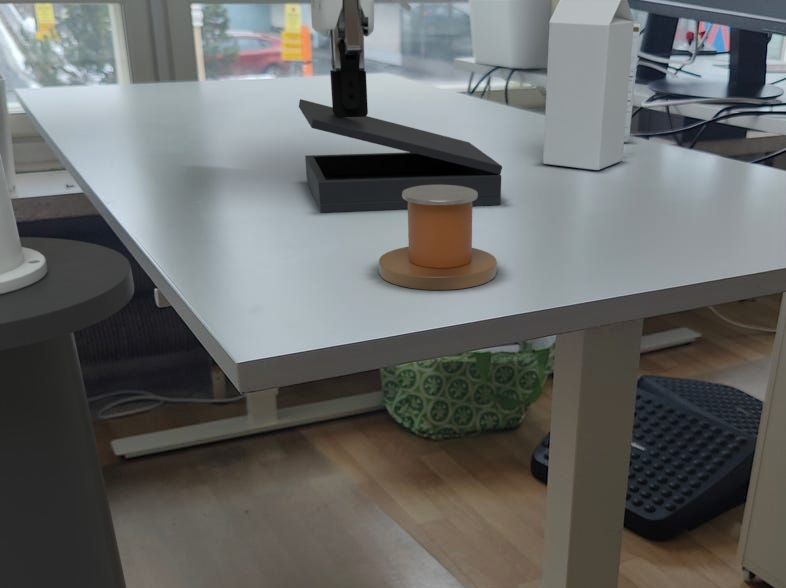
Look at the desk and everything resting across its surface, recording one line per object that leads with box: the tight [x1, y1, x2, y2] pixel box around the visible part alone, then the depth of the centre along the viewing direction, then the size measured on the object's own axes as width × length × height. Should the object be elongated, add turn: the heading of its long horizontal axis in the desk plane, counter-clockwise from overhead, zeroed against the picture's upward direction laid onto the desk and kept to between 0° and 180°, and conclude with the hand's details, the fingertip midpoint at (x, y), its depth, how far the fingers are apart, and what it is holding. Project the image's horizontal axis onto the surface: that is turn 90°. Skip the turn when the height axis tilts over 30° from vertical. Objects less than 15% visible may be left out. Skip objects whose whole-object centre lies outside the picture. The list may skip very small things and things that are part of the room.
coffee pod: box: [402, 185, 478, 268], centre depth 72 cm, size 6×6×5 cm
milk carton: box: [542, 0, 635, 171], centre depth 108 cm, size 7×7×19 cm
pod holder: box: [304, 151, 502, 213], centre depth 97 cm, size 18×14×3 cm
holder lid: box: [298, 98, 503, 175], centre depth 95 cm, size 18×14×1 cm
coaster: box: [378, 246, 498, 291], centre depth 73 cm, size 9×9×1 cm
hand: (350, 115), depth 93 cm, fingers closed
